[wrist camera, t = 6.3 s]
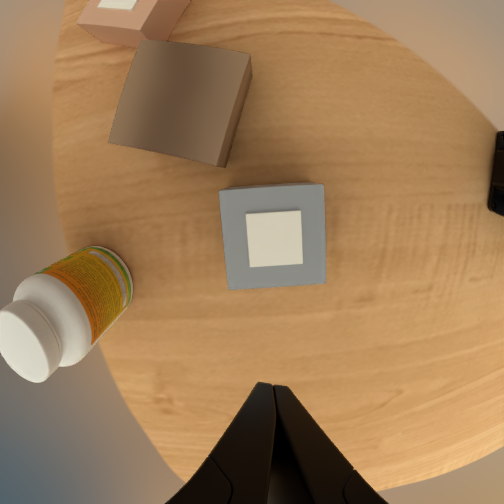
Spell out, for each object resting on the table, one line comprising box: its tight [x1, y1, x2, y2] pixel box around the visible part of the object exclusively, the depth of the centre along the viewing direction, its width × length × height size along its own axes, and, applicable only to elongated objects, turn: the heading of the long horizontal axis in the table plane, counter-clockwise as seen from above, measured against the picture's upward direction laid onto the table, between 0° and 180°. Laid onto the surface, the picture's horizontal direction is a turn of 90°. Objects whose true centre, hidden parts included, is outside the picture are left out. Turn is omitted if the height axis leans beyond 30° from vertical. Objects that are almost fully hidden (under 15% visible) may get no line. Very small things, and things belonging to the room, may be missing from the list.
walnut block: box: [108, 40, 252, 168], centre depth 15 cm, size 6×6×4 cm
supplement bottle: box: [0, 246, 133, 383], centre depth 15 cm, size 5×5×10 cm
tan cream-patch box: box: [76, 0, 191, 48], centre depth 13 cm, size 5×5×4 cm
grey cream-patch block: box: [219, 182, 326, 290], centre depth 17 cm, size 5×5×4 cm
